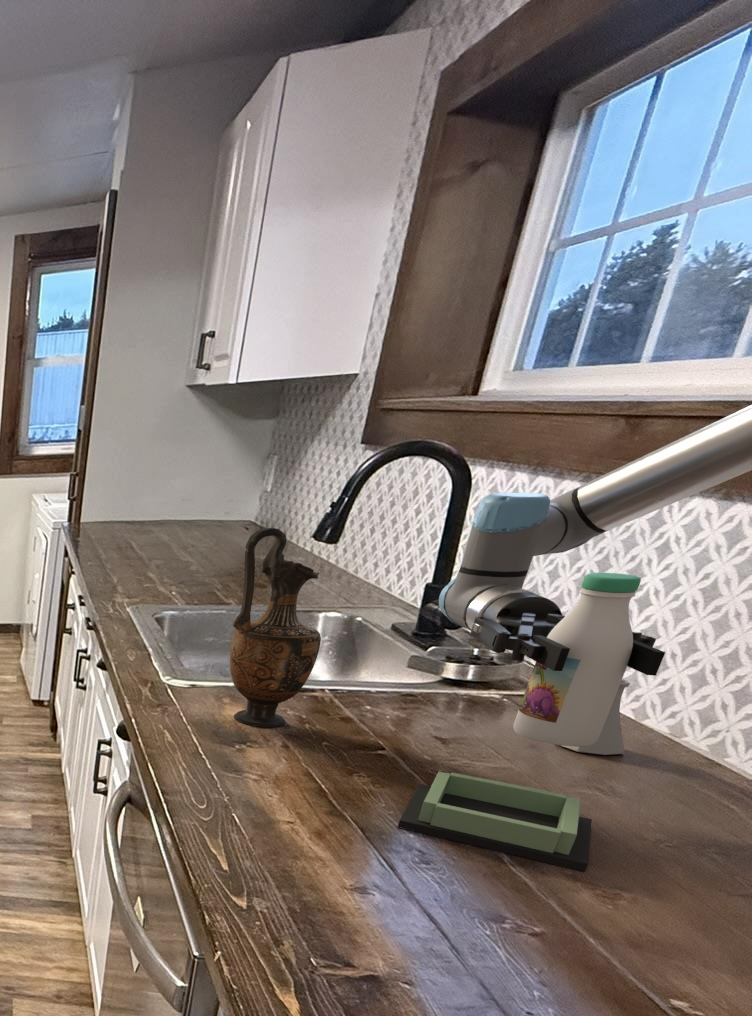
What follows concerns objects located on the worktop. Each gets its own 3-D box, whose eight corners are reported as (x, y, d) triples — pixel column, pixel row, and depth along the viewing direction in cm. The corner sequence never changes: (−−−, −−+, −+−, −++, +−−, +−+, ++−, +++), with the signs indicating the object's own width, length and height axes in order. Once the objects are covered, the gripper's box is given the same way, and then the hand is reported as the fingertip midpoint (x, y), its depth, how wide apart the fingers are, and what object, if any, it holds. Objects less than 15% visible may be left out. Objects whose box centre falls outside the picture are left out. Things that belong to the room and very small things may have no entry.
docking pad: (589, 826, 96) (600, 799, 95) (584, 872, 87) (597, 842, 86) (416, 790, 107) (424, 765, 105) (397, 827, 98) (405, 800, 96)
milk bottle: (586, 732, 103) (649, 571, 96) (604, 752, 98) (673, 583, 90) (505, 723, 107) (559, 568, 100) (518, 742, 101) (577, 578, 94)
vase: (311, 734, 126) (361, 533, 114) (219, 728, 130) (259, 533, 118) (288, 710, 136) (333, 523, 125) (204, 705, 140) (240, 523, 128)
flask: (572, 755, 115) (599, 687, 111) (539, 737, 121) (563, 672, 118) (636, 758, 113) (665, 688, 109) (599, 739, 120) (625, 673, 116)
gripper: (598, 648, 112) (714, 699, 92) (415, 641, 118) (486, 687, 99) (619, 593, 109) (743, 633, 89) (430, 589, 116) (506, 625, 96)
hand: (608, 661), depth 94 cm, fingers closed on milk bottle, 8 cm apart
